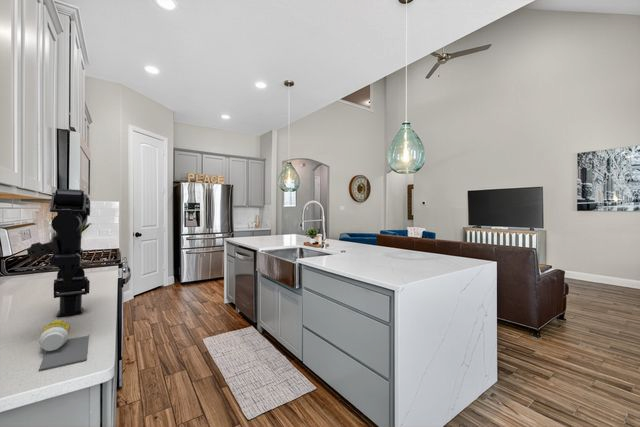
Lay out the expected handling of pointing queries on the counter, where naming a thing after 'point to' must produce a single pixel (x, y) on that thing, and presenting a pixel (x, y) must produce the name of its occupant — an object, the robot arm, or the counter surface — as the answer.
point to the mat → (66, 354)
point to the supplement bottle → (54, 335)
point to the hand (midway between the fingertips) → (67, 285)
